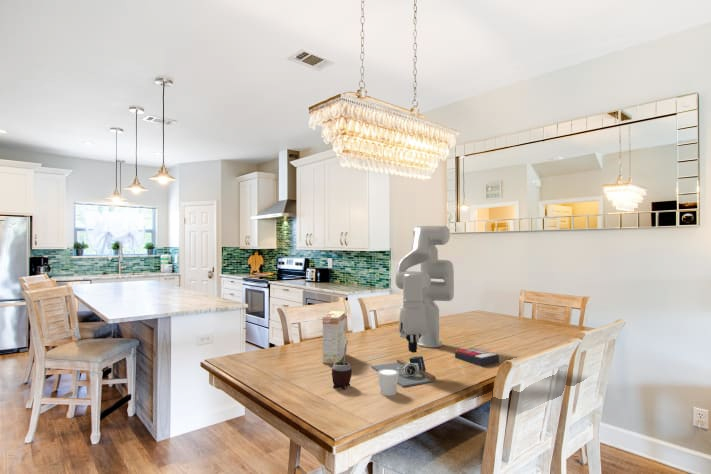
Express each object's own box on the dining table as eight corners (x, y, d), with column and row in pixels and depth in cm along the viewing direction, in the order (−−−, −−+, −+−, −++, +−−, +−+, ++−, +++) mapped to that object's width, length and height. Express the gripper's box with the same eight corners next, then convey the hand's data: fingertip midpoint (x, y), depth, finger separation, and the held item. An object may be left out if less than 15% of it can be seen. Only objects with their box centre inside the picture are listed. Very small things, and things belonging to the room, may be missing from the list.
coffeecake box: (331, 353, 179) (331, 310, 179) (346, 354, 177) (346, 311, 178) (321, 362, 164) (321, 316, 165) (338, 364, 163) (338, 317, 163)
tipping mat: (371, 367, 158) (371, 363, 158) (400, 363, 164) (400, 358, 164) (402, 387, 137) (402, 382, 137) (435, 381, 142) (435, 376, 142)
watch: (429, 370, 150) (411, 379, 143) (414, 370, 156) (395, 379, 148) (426, 355, 151) (407, 364, 143) (410, 356, 157) (392, 364, 149)
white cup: (400, 390, 134) (400, 369, 134) (395, 397, 127) (395, 376, 127) (381, 387, 136) (381, 367, 136) (375, 395, 130) (375, 373, 130)
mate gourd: (335, 391, 132) (336, 347, 133) (328, 383, 140) (328, 342, 140) (355, 388, 135) (356, 345, 136) (347, 381, 143) (347, 340, 143)
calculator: (471, 346, 178) (499, 352, 166) (471, 356, 178) (499, 363, 166) (454, 350, 173) (481, 356, 160) (454, 360, 172) (482, 367, 160)
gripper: (423, 302, 159) (423, 347, 159) (391, 304, 153) (391, 351, 153) (434, 305, 153) (434, 352, 152) (401, 307, 146) (401, 356, 146)
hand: (412, 351), depth 153 cm, fingers closed
